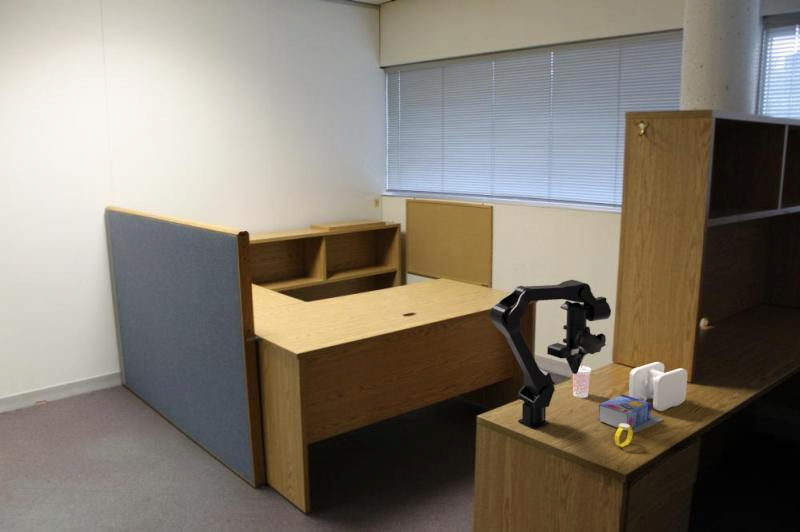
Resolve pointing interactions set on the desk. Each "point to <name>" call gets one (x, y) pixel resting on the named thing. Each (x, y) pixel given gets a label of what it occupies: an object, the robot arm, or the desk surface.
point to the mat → (646, 423)
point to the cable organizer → (658, 385)
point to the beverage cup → (581, 381)
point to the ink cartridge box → (624, 411)
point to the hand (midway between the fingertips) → (574, 373)
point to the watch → (618, 433)
